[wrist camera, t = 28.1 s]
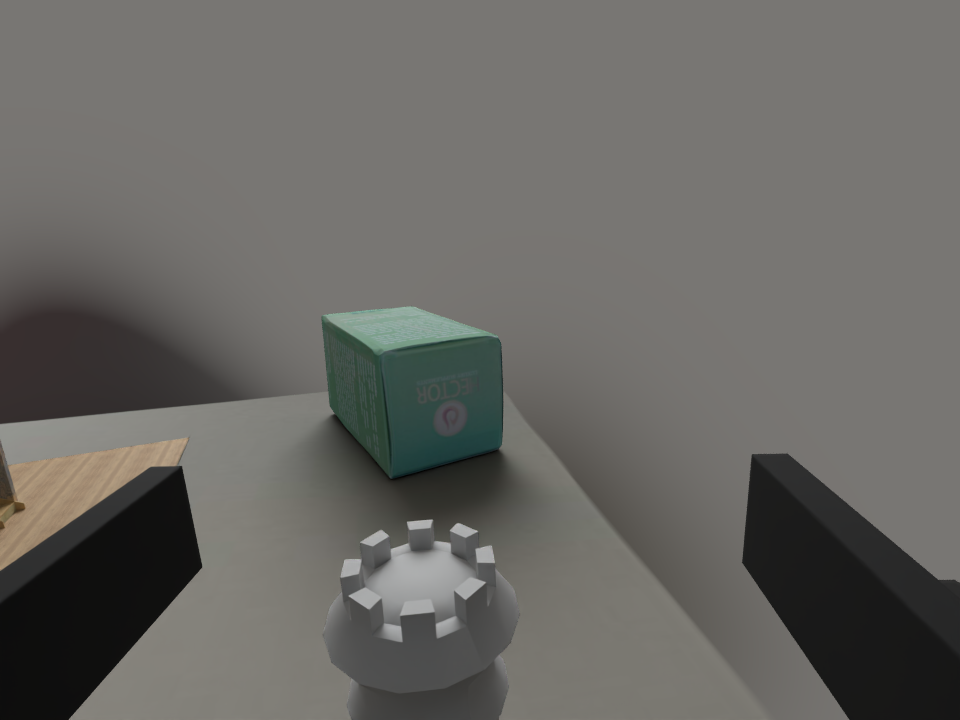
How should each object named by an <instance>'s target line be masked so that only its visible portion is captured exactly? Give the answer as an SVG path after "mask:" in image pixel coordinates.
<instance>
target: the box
mask: <svg viewBox="0 0 960 720" xmlns="http://www.w3.org/2000/svg"><path fill="white" fill-rule="evenodd" d="M322 328H323V337H324V348H325V358H326V370H327V380H328V391H329V403H330V407H331V409H332V410H333V412H334V413H335V414H336V416H337V417H338V418H339V419H340V421H341V422H342V423H343V425H344V426H345V427H346V428H347V430H348V431H349V432H350V433H351V434H352V435H353V436H354V437H355V438H356V440H357V441H358V442H359V443H360V444H361V445H362V446H363V447H364V449H365V450H366V451H367V452H368V453H369V454H370V455H371V456H372V457H373V459H374V460H375V461H376V462H377V463H378V464H379V466H380V467H381V468H382V469H383V470H384V471H385V473H386V474H387V475H388V476H389V477H390V479H392V478H397V477H401V476H404V475H408V474H412V473H415V472H419V471H422V470H426V469H430V468H433V467H437V466H440V465H444V464H448V463H451V462H455V461H459V460H462V459H466V458H470V457H473V456H477V455H481V454H485V453H489V452H492V451H495V450H497V449H499V448H500V446H501V445H502V433H503V378H502V353H501V342H500V340H499V339H498V337H497V335H495V334H492V333H489V332H486V331H483V330H480V329H477V328H474V327H470V326H467V325H464V324H461V323H458V322H456V321H453V320H450V319H447V318H444V317H441V316H438V315H435V314H432V313H429V312H426V311H424V310H422V309H419V308H416V307H413V306H411V307H401V308H389V309H377V310H368V311H357V312H348V313H338V314H327V315H323V316H322Z"/></svg>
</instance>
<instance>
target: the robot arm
mask: <svg viewBox="0 0 960 720" xmlns="http://www.w3.org/2000/svg"><path fill="white" fill-rule="evenodd" d="M748 493H749V494H748V504H747V515H746V527H745V537H744V549H743V560H742V563H743V564H744V566H745V567H746V569H747V570H748V572H749V573H750V575H751V576H752V578H753V579H754V581H755V582H756V583H757V585H758V586H759V588H760V589H761V591H762V592H763V594H764V595H765V596H766V598H767V600H768V601H769V603H770V604H771V605H772V607H773V608H774V610H775V611H776V613H777V614H778V616H779V617H780V619H781V620H782V622H783V623H784V624H785V626H786V627H787V629H788V630H789V632H790V633H791V635H792V636H793V638H794V639H795V640H796V642H797V643H798V645H799V646H800V648H801V649H802V651H803V652H804V654H805V655H806V657H807V658H808V660H809V661H810V663H811V664H812V665H813V667H814V668H815V670H816V671H817V673H818V674H819V676H820V677H821V679H822V680H823V682H824V683H825V684H826V686H827V688H829V690H830V692H831V693H832V695H833V696H834V698H835V699H836V700H837V702H838V704H839V705H840V707H841V708H842V709H843V711H844V712H845V714H846V715H847V717H848V718H849V720H960V583H959V582H957V581H956V580H938V579H937V578H935V577H934V576H933V575H932V574H931V573H929V572H928V571H927V570H926V569H925V568H923V567H922V566H921V565H920V564H919V563H917V562H916V561H915V560H914V559H913V558H911V557H910V556H909V555H908V554H907V553H905V552H904V551H903V550H902V549H901V548H900V547H898V546H897V545H896V544H895V543H894V542H892V541H891V540H890V539H889V538H887V537H886V536H885V535H884V534H883V533H882V532H880V531H879V530H878V529H877V528H876V527H874V526H873V525H872V524H871V523H870V522H868V521H867V520H866V519H865V518H864V517H862V516H861V515H860V514H859V513H858V512H857V511H855V510H854V509H853V508H852V507H850V506H849V505H848V504H847V503H846V502H845V501H843V500H842V499H841V498H840V497H839V496H837V495H836V494H835V493H834V492H832V491H831V490H830V489H829V488H828V487H827V486H825V485H824V484H823V483H822V482H821V481H820V480H818V479H817V478H816V477H815V476H813V475H812V474H811V473H810V472H809V471H808V470H806V469H805V468H804V467H803V466H802V465H800V464H799V463H798V462H797V461H796V460H794V459H793V458H792V457H791V456H790V455H788V454H752V459H751V470H750V481H749V492H748ZM201 568H202V563H201V558H200V553H199V548H198V543H197V538H196V533H195V529H194V524H193V519H192V514H191V509H190V504H189V499H188V494H187V489H186V484H185V479H184V474H183V469H182V466H157V467H149V468H148V469H147V470H145V471H144V472H142V473H141V474H139V475H138V476H136V477H135V478H134V479H132V480H131V481H129V482H128V483H126V484H125V485H123V486H122V487H121V488H119V489H118V490H116V491H115V492H113V493H112V494H110V495H109V496H108V497H106V498H105V499H103V500H102V501H100V502H99V503H97V504H96V505H95V506H93V507H92V508H90V509H89V510H87V511H86V512H84V513H83V514H82V515H80V516H79V517H77V518H76V519H74V520H73V521H71V522H70V523H69V524H67V525H66V526H64V527H63V528H61V529H60V530H58V531H57V532H56V533H54V534H53V535H51V536H50V537H48V538H47V539H45V540H44V541H43V542H41V543H40V544H38V545H37V546H35V547H34V548H32V549H31V550H30V551H28V552H27V553H25V554H24V555H22V556H21V557H19V558H18V559H17V560H15V561H14V562H12V563H11V564H9V565H8V566H6V567H5V568H4V569H2V570H1V571H0V720H69V718H70V717H71V716H72V715H73V714H74V713H75V712H76V710H77V709H78V708H79V707H80V706H81V705H82V704H83V702H84V701H85V700H86V699H87V698H88V697H89V696H90V695H91V693H92V692H93V691H94V690H95V689H96V688H97V687H98V685H99V684H100V683H101V682H102V681H103V680H104V679H105V677H106V676H107V675H108V674H109V673H110V672H111V671H112V669H113V668H114V667H115V666H116V665H117V664H118V663H119V661H120V660H121V659H122V658H123V657H124V656H125V655H126V654H127V652H128V651H129V650H130V649H131V648H132V647H133V646H134V644H135V643H136V642H137V641H138V640H139V639H140V638H141V636H142V635H143V634H144V633H145V632H146V631H147V630H148V628H149V627H150V626H151V625H152V624H153V623H154V622H155V621H156V619H157V618H158V617H159V616H160V615H161V614H162V613H163V611H164V610H165V609H166V608H167V607H168V606H169V605H170V603H171V602H172V601H173V600H174V599H175V598H176V597H177V595H178V594H179V593H180V592H181V591H182V590H183V589H184V588H185V586H186V585H187V584H188V583H189V582H190V581H191V580H192V578H193V577H194V576H195V575H196V574H197V573H198V572H199V570H200V569H201Z"/></svg>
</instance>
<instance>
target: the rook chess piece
mask: <svg viewBox="0 0 960 720" xmlns="http://www.w3.org/2000/svg"><path fill="white" fill-rule="evenodd" d="M407 531H408V542H409V543H408V544H405V545H402V546H399V547H396V548H393V549H390V539H389V536H388V535H387V534H386V533H385V532H384V531H382V530H380V531H378V532H376V533H375V534H373V535H371V536H370V537H368V538H366V539H365V540H363V541H361V542H360V550H361V558H362V559H345V561H344V565H343V569H342V573H341V577H340V579H341V587H342V591H341V593H340V594H339V595H338V597H337V598H336V599H335V601H334V602H333V604H332V605H331V606H330V608H329V612H328V616H327V620H326V624H325V628H324V632H323V637H324V640H325V643H326V646H327V649H328V652H329V655H330V658H331V662H332V663H333V664H334V665H336V666H337V667H338V668H339V669H341V670H342V671H343V672H344V673H346V674H347V675H348V676H349V677H350V678H352V679H351V684H350V690H349V696H348V702H347V707H348V710H349V713H350V716H351V719H352V720H499V716H500V715H501V712H502V709H503V705H504V702H505V699H506V695H507V692H508V689H509V684H508V678H507V673H506V667H505V662H504V660H503V659H502V658H501V656H500V655H499V654H500V653H501V652H502V651H503V650H504V649H505V648H506V647H507V646H508V645H509V644H510V643H511V640H512V637H513V634H514V631H515V628H516V625H517V622H518V619H519V616H520V612H519V608H518V604H517V600H516V595H515V591H514V588H513V587H512V586H511V585H510V584H509V583H508V582H507V581H506V580H505V578H504V577H503V576H502V575H501V574H500V573H499V572H498V571H497V570H496V569H495V560H494V555H493V550H492V545H491V546H486V547H481V548H479V537H478V531H476V530H474V529H471V528H469V527H467V526H464V525H462V524H460V523H457V524H456V525H455V526H454V527H453V528H452V529H451V530H450V543H445V542H438V541H435V539H434V525H433V520H422V521H410V522H407Z"/></svg>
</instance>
